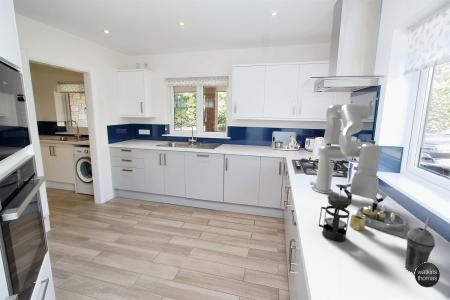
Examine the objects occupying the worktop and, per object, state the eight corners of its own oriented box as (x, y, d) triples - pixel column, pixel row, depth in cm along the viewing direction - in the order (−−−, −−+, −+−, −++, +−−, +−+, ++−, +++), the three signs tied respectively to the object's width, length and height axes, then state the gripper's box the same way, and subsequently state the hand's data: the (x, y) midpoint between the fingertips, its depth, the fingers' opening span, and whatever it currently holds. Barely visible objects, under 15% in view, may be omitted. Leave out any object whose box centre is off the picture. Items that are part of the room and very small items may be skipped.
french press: (347, 234, 96) (355, 184, 92) (348, 245, 88) (357, 191, 84) (318, 226, 101) (325, 179, 97) (317, 236, 93) (324, 185, 89)
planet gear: (348, 227, 102) (350, 217, 101) (351, 223, 106) (353, 213, 106) (362, 232, 99) (364, 221, 98) (364, 227, 103) (366, 217, 102)
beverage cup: (394, 263, 78) (405, 211, 75) (413, 263, 79) (424, 211, 76) (413, 278, 71) (426, 222, 68) (433, 278, 72) (447, 222, 68)
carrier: (352, 221, 109) (354, 207, 107) (361, 209, 123) (363, 197, 122) (403, 238, 95) (406, 222, 94) (406, 222, 110) (409, 209, 109)
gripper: (343, 168, 100) (338, 203, 103) (389, 177, 89) (382, 216, 92) (347, 166, 106) (342, 199, 109) (391, 174, 95) (384, 211, 97)
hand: (360, 207), depth 100 cm, fingers open, 9 cm apart
